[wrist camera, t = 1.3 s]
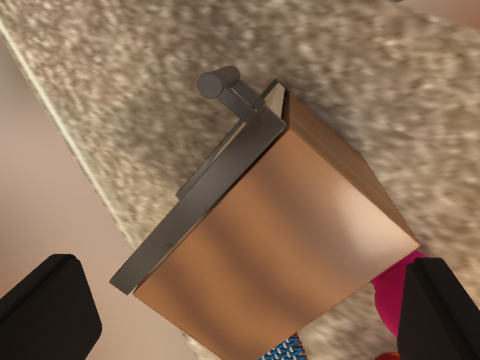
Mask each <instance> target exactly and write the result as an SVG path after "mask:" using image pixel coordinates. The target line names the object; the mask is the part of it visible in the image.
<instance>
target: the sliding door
mask: <svg viewBox="0 0 480 360" xmlns="http://www.w3.org/2000/svg"><path fill="white" fill-rule="evenodd" d="M231 88H232V89H234V90H235V91H236V92H237V93H238V94H239V95H240V96H241V97H243V98H244V99H245V100H246V101H247V102H248V103H249V104H250V105H252V106H253V107H254V108H255V110H254V109H253V108H252V107H251V106H250V105H249V104H247V103H246V102H245V101H244V100H243V99H242V98H241V97H240V96H238V95H237V94H236V93H235V92H234V91H233V90H232V89H231ZM198 90H199V92H200V93H201V95H202V96H204V97H205V98H208V99H213V98H218V99H219V100H220V101H221V102H222V103H223V104H224V105H226V106H227V107H228V108H229V109H230V110H231V111H232V112H234V113H235V114H236V115H237V116H238V117H239V118H240V119H242V120H243V121H244V123H243V124H242V125H241V126H240V127H239V129H238V130H237V131H236V132H235V133H234V134H233V135H232V137H231V138H230V139H229V140H228V141H227V142H226V144H225V145H224V146H223V147H222V148H221V149H220V151H219V152H218V154H217V155H216V157H215V158H214V160H215V159H216V158H217V157H218V155H219V154H220V153H221V152H222V151H223V150H224V149H225V147H226V146H227V145H228V144H229V143H230V142H231V140H232V139H233V138H234V137H235V136H236V135H237V134H238V132H239V131H240V130H241V129H242V128H243V127H244V126H245V124H246V123H247V122H248V121H249V120H250V119H251V118H252V116H253V115H254V114H255V113H256V112H257V111H258V109H259V108H260V107H261V106H262V105H263V104H265V105H267V106H268V107H269V108H270V109H271V110H272V111H273V112H274V113H275V114H277V115H278V116H279V117H280V118H281V112H282V105H283V97H284V90H285V88H284V87H283V86H282V85H281V84H280V83H277V85H276V86H275V87H274V88H273V89H272V90H271V92H270V93H269V94H268V95H267V96H266V97H265V98H264V99H263V98H262V97H260V96H259V95H258V94H257V93H256V92H255V91H254V90H253V89H252V88H250V87H249V86H248V85H247V84H246V83H245V82H244V81H243V80H241V79H240V72H239V70H238V69H237V68H236V67H234V66H227V67H224V68H221V69H217V70H214V71H211V72H208V73H205V74H203V75H202V76H201V77H200V78H199V80H198ZM214 160H213V161H214ZM213 161H212V162H213ZM210 165H211V164H210Z"/></svg>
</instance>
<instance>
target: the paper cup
mask: <svg viewBox="0 0 480 360" xmlns="http://www.w3.org/2000/svg"><path fill="white" fill-rule="evenodd" d="M375 360H401V358H400V355H399V353H387V354H383V355H381V356H379V357H377V358H376V359H375Z"/></svg>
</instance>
